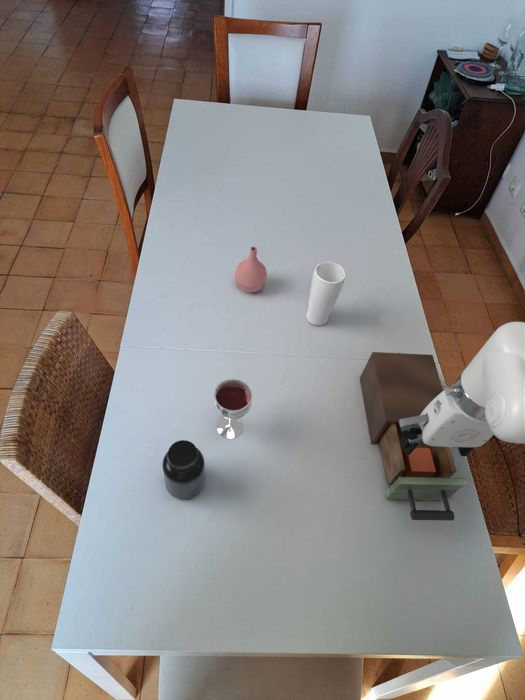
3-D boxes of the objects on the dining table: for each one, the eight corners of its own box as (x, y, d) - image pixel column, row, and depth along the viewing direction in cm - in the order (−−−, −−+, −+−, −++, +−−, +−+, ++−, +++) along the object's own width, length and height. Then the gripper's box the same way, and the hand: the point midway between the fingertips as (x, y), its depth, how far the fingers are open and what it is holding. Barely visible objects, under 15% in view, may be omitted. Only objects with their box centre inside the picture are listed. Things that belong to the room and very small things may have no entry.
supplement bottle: (202, 461, 84) (202, 431, 74) (206, 498, 80) (206, 471, 70) (165, 466, 83) (159, 436, 73) (166, 503, 79) (161, 477, 69)
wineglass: (205, 429, 88) (205, 397, 78) (226, 405, 91) (229, 372, 82) (233, 449, 86) (237, 419, 76) (254, 423, 90) (260, 391, 80)
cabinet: (432, 446, 91) (453, 423, 83) (371, 444, 89) (386, 421, 82) (415, 380, 100) (432, 354, 92) (359, 378, 99) (372, 351, 91)
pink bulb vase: (241, 301, 109) (244, 263, 99) (229, 279, 113) (231, 241, 103) (270, 293, 111) (276, 256, 102) (257, 272, 115) (262, 234, 106)
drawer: (453, 528, 80) (474, 515, 74) (390, 528, 79) (406, 514, 73) (427, 428, 92) (443, 409, 86) (372, 427, 91) (384, 407, 85)
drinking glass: (301, 326, 106) (313, 279, 94) (304, 305, 110) (316, 258, 98) (329, 331, 106) (345, 285, 94) (331, 310, 110) (346, 264, 98)
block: (426, 481, 84) (436, 471, 80) (402, 480, 83) (411, 471, 80) (420, 458, 86) (430, 448, 83) (397, 457, 86) (406, 447, 82)
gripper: (428, 416, 61) (387, 467, 74) (549, 420, 62) (488, 470, 76) (415, 369, 65) (379, 426, 79) (529, 374, 67) (474, 429, 80)
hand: (432, 447), depth 77 cm, fingers open, 9 cm apart
